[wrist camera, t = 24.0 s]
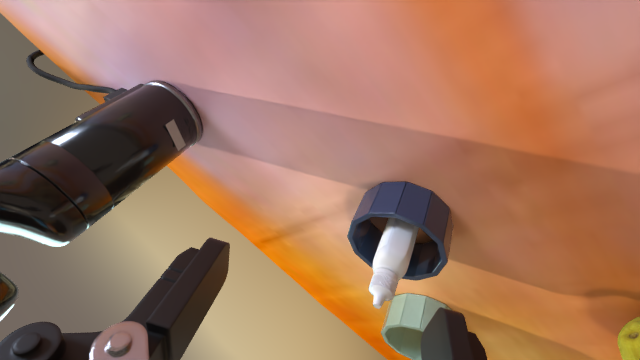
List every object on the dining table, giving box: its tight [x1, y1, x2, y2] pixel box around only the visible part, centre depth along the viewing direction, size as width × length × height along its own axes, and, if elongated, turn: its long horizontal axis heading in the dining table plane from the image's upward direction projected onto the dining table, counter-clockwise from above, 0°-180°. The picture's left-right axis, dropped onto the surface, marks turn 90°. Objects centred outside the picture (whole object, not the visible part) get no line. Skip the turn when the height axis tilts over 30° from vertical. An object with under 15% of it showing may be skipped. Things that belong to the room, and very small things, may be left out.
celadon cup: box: [381, 293, 451, 360], centre depth 47 cm, size 10×10×5 cm
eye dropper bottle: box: [369, 217, 419, 309], centre depth 33 cm, size 4×6×12 cm
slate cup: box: [347, 182, 453, 280], centre depth 35 cm, size 10×10×5 cm
